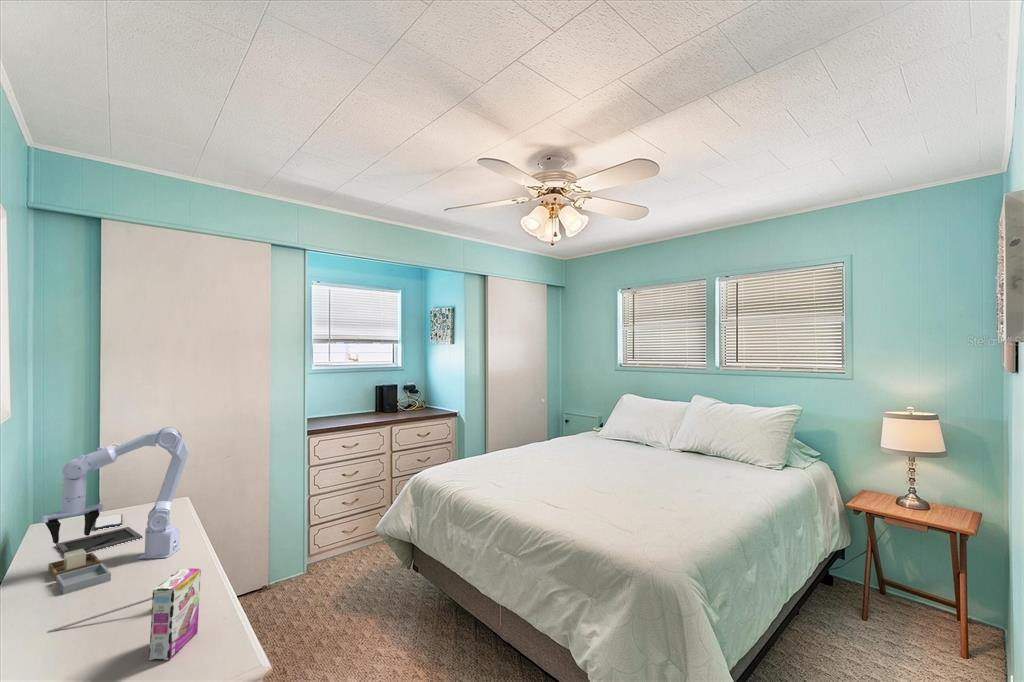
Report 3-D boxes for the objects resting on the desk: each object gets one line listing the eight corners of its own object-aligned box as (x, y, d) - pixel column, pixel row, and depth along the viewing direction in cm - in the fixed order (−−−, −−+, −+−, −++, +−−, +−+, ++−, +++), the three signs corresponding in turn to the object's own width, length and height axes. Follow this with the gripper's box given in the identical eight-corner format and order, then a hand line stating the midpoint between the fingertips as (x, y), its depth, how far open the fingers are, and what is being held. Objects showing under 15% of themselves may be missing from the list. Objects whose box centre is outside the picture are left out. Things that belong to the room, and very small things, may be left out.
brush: (56, 644, 119) (51, 608, 120) (183, 602, 132) (178, 569, 132) (50, 651, 116) (45, 614, 116) (180, 607, 128) (175, 573, 129)
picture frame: (67, 559, 158) (142, 540, 175) (67, 554, 158) (142, 535, 175) (55, 548, 167) (128, 530, 184) (56, 542, 167) (128, 525, 184)
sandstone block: (85, 567, 150) (86, 552, 150) (66, 572, 146) (67, 556, 146) (82, 563, 153) (82, 548, 153) (63, 568, 149) (64, 552, 149)
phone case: (95, 521, 194) (93, 532, 181) (95, 517, 194) (93, 528, 181) (122, 517, 199) (122, 527, 187) (122, 513, 199) (122, 523, 187)
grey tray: (110, 580, 143) (111, 572, 143) (63, 594, 134) (63, 586, 134) (101, 570, 149) (102, 563, 149) (56, 583, 141) (56, 575, 141)
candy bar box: (170, 661, 106) (173, 589, 107) (148, 662, 106) (150, 590, 106) (199, 632, 117) (201, 567, 118) (179, 632, 117) (181, 567, 117)
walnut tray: (100, 568, 150) (100, 561, 151) (54, 581, 142) (55, 573, 142) (92, 559, 157) (92, 552, 157) (48, 571, 148) (48, 563, 148)
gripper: (97, 489, 158) (94, 529, 157) (38, 500, 145) (36, 543, 144) (106, 492, 154) (103, 533, 154) (47, 504, 142) (44, 548, 141)
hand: (71, 538), depth 149 cm, fingers open, 7 cm apart
